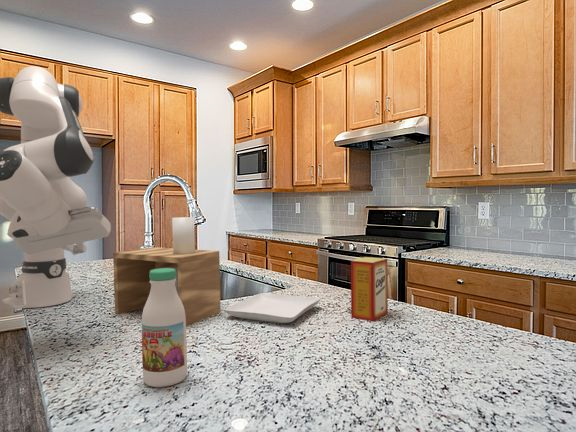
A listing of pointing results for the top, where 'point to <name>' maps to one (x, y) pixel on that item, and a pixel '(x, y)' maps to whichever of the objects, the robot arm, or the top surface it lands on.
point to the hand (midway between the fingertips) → (80, 251)
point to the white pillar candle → (183, 235)
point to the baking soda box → (369, 288)
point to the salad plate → (272, 307)
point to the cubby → (191, 280)
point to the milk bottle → (163, 332)
